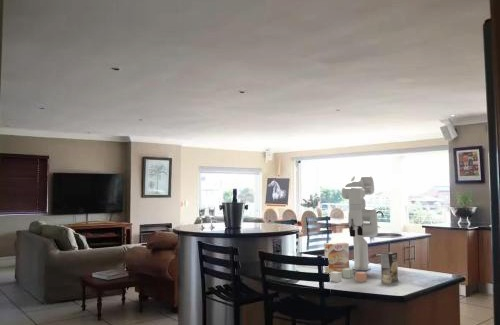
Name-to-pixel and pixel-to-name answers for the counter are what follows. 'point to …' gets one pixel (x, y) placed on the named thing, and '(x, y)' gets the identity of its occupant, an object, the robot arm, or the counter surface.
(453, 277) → the counter surface
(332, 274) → the off-white block
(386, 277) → the birch cylinder
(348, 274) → the sage block
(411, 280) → the counter surface
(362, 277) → the terracotta block
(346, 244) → the coffeecake box
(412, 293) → the counter surface
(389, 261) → the coffee box
